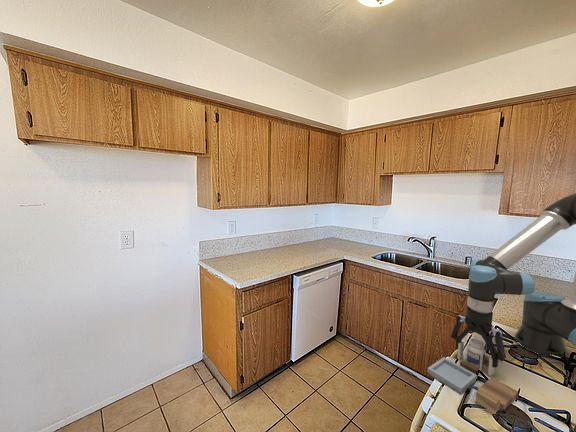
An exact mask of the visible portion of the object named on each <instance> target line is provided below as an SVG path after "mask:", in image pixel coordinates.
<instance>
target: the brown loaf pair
mask: <svg viewBox="0 0 576 432" xmlns="http://www.w3.org/2000/svg"><path fill="white" fill-rule="evenodd" d="M480 388H482V389H484V390H486V391H488V392H489V393H491V394H493V395H495V396H496V397H498V398H500V408H502V409H505V408H506V407H507V406H508V405H510V404H511V405H512V404H513V403H514V402H515V401H516V400H517V399H516V395H517V394H518V395H519V390H516V389H515V388H513V387H511V386H508V385H507V384H506V383H504V382H501V381H499V380H497V379H496V378H494V377H491V376H490V378H489V379H488V380H487V381H485V382H484V383H483V384H482V385H481V386H479V387H478V388H477V389H476V392H477V391H478V390H479V389H480ZM511 405H510V406H511Z"/></svg>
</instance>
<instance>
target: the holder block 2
mask: <svg viewBox="0 0 576 432" xmlns="http://www.w3.org/2000/svg"><path fill="white" fill-rule="evenodd" d="M490 357H491V356H490ZM490 357H489V355H488V356H487V355H486V354H485V366H486V367H489V358H490ZM485 366H484V367H485Z"/></svg>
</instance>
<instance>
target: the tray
mask: <svg viewBox="0 0 576 432" xmlns="http://www.w3.org/2000/svg"><path fill="white" fill-rule="evenodd" d="M427 374H428V375H429V376H431V377H433V378H434V379H436V380H438V381H439V382H441V383H442V384H444V385H445V386H446V387H448V388H450V389H452V390H453V391H455V392H457V393H458V394H459V395H462V394H463V393H464V392H466V391H467V390H468V389H469V388H470V387H471V386H472V385H473V384H474V383H476V382H477V381H476V379H477V380H478V375H476V374H474V373H472V372H470V371H469V370H467V369H465V368H463V367H461V366H460V364H457V363H456V362H454V361H451V360H450V359H448V358H447V357H445V356H443V357H442V358H440V359H439V360H437V361H436V362H434V363H433V364H431V365H429V366H428V367H427ZM475 381H476V382H475ZM470 385H471V386H470ZM469 386H470V387H469ZM468 387H469V388H468ZM467 388H468V389H467Z"/></svg>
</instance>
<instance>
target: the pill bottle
mask: <svg viewBox="0 0 576 432" xmlns="http://www.w3.org/2000/svg"><path fill="white" fill-rule="evenodd" d="M469 342H470V343H469V344H468V345H467V348H466V361H467V362H469V363H471V364H473V365H475V366H477V367H479V370H480V371H479V372H481V371H482V372H483V371H484V370H485V355H486V349H485V348H484V346H485V344H484V342H483V341H482V340H480V339H477V338H471V339H470V340H469Z"/></svg>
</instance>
